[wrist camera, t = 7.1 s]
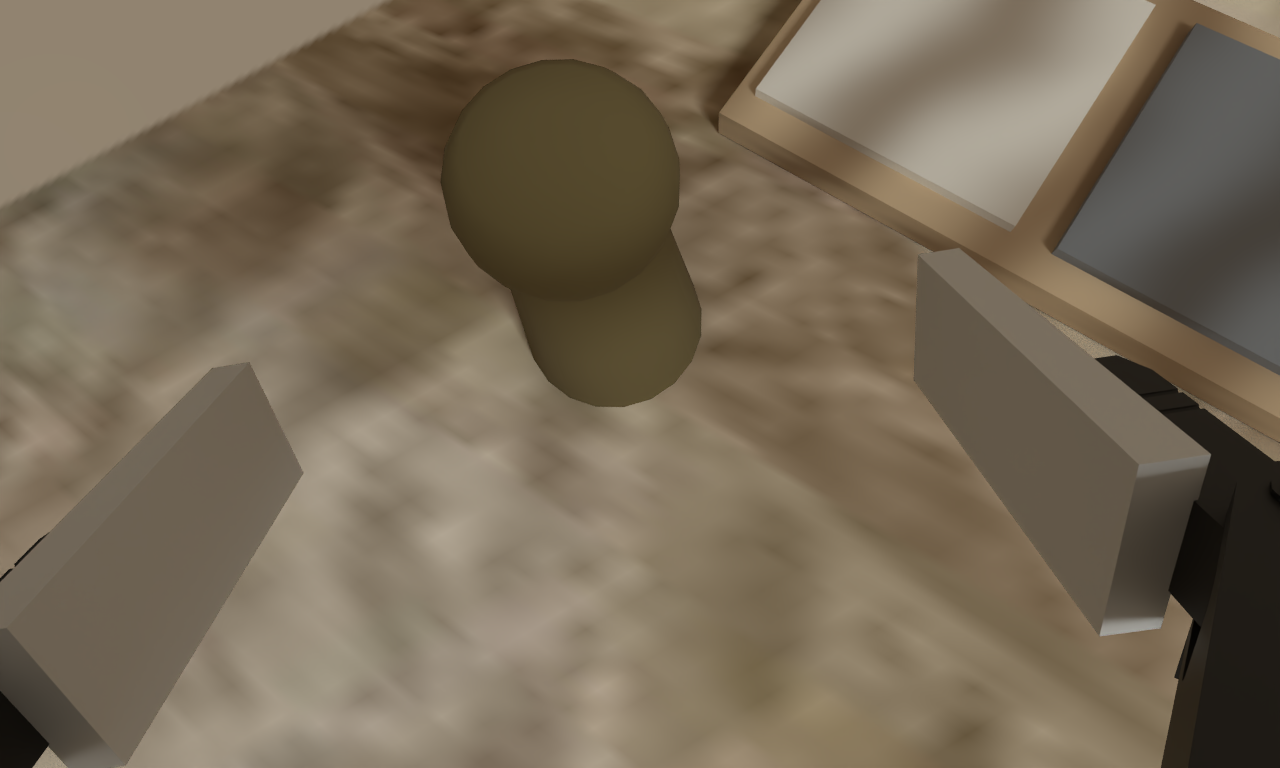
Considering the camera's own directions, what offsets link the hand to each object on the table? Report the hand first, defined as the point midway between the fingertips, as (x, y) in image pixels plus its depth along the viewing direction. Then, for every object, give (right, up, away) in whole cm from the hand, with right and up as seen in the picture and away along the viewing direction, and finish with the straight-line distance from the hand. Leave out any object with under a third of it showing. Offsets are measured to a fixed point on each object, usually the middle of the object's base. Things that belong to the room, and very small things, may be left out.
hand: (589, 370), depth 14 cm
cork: (0, +2, +11) cm, 11 cm away
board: (+16, +8, +11) cm, 21 cm away
